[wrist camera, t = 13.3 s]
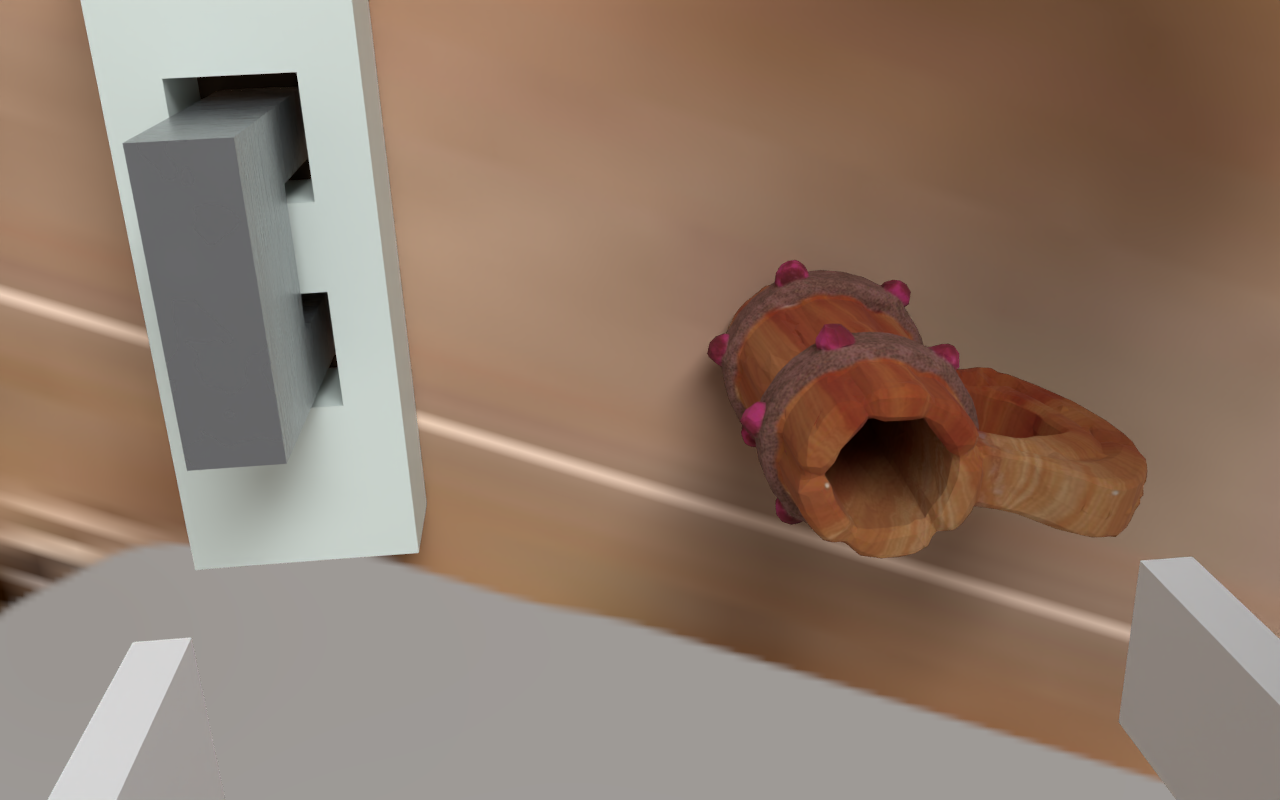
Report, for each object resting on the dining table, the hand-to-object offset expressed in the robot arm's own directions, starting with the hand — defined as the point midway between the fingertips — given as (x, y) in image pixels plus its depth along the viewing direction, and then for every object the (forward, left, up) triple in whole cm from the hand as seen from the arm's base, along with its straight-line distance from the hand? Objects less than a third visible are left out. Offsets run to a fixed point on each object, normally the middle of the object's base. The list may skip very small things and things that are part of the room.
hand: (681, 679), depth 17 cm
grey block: (+1, -12, -35) cm, 37 cm away
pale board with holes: (+1, -12, -35) cm, 37 cm away
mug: (+8, +12, -35) cm, 38 cm away
